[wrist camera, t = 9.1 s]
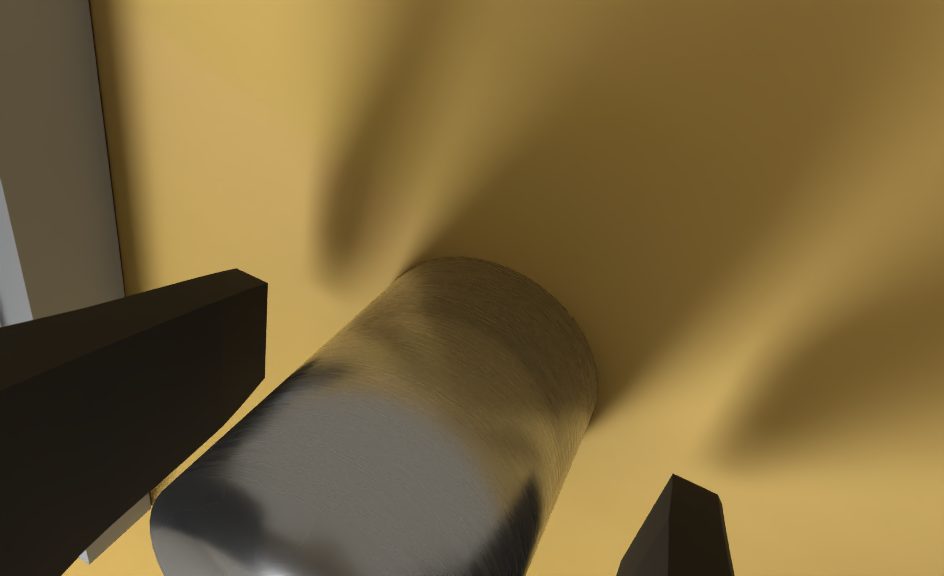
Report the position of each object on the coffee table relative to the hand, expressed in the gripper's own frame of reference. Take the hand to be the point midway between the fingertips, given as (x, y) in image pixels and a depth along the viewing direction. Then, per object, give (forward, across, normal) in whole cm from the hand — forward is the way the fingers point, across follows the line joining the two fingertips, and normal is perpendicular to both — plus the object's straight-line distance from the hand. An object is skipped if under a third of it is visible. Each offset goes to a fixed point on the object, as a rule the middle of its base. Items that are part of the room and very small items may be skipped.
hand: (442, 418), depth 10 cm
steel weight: (+2, 0, 0) cm, 2 cm away
